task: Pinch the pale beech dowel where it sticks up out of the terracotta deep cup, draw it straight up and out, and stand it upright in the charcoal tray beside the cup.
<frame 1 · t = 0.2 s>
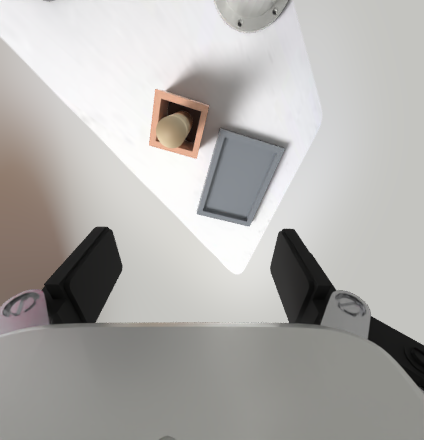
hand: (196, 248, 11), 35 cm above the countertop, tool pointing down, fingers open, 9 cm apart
dowel: (178, 126, 33), in the deep cup
deep cup: (183, 121, 40), on the countertop
tray: (236, 181, 46), on the countertop
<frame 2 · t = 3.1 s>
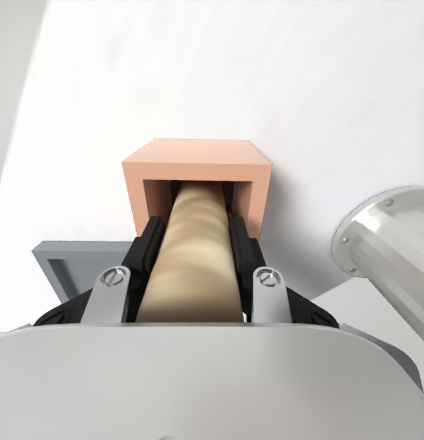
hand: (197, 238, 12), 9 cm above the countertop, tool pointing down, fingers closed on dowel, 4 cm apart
dowel: (198, 222, 14), in the deep cup, touching gripper
deep cup: (202, 183, 20), on the countertop
tray: (137, 282, 27), on the countertop
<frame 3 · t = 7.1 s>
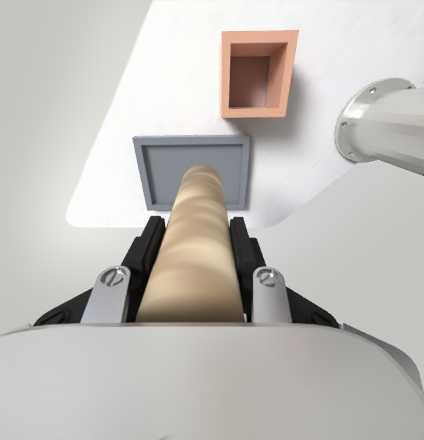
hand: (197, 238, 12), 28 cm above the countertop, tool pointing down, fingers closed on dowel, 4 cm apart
dowel: (199, 221, 14), point 26 cm above the countertop, touching gripper
deep cup: (246, 83, 31), on the countertop
tray: (194, 174, 38), on the countertop
when the fingers open (11 cm above the countertop, at t = 11.4 s): dowel drops 1 cm, resting on tray.
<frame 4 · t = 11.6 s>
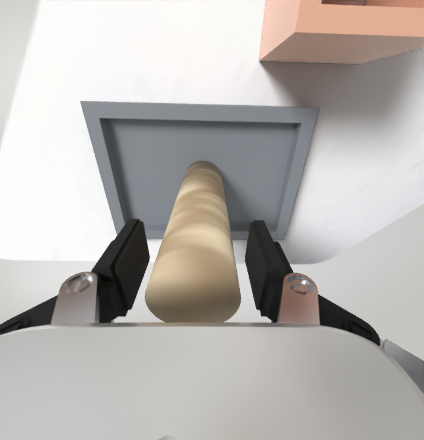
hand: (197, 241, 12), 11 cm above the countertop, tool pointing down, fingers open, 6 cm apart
dowel: (200, 213, 15), in the tray, point 8 cm above the countertop
tray: (202, 178, 22), on the countertop
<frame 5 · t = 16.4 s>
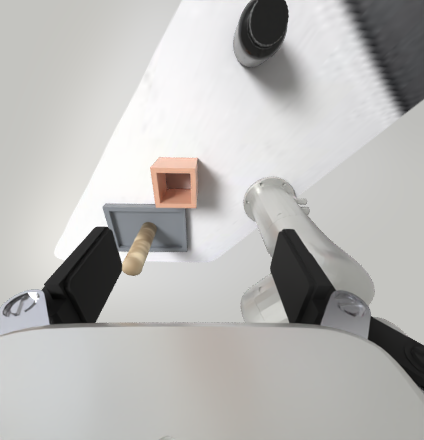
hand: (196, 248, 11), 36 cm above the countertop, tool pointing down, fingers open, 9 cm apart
dowel: (141, 245, 47), in the tray, point 8 cm above the countertop
deep cup: (179, 176, 46), on the countertop
tray: (149, 227, 54), on the countertop
supplement bottle: (251, 43, 35), on the countertop
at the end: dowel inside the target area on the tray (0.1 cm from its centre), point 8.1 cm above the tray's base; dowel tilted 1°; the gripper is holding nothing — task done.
